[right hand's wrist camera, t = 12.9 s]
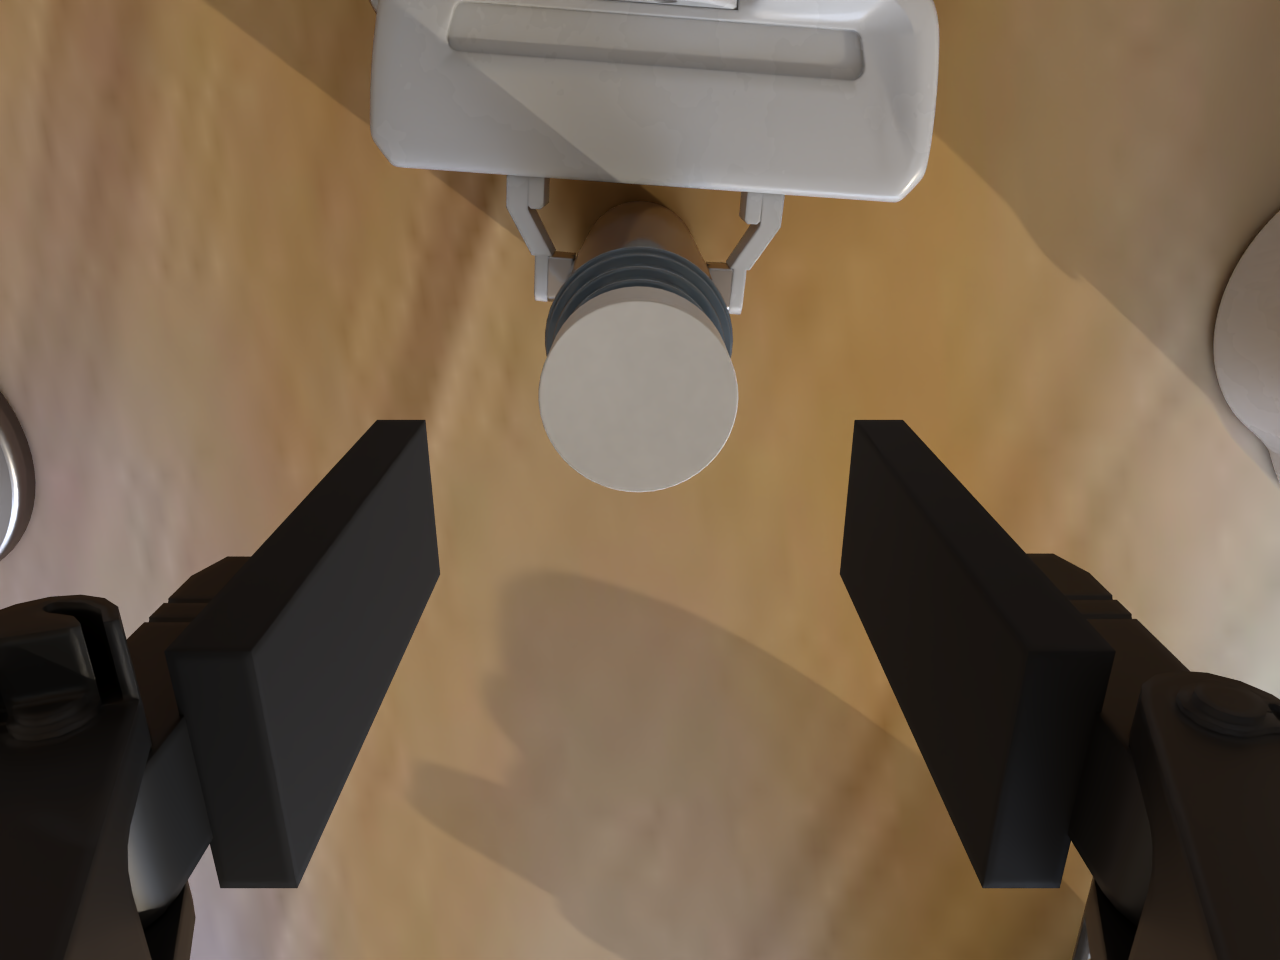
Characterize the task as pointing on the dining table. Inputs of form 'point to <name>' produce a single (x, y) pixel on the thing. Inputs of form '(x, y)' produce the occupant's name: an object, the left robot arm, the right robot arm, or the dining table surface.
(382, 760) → the dining table surface
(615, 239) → the bottle
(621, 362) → the cap
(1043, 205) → the dining table surface
